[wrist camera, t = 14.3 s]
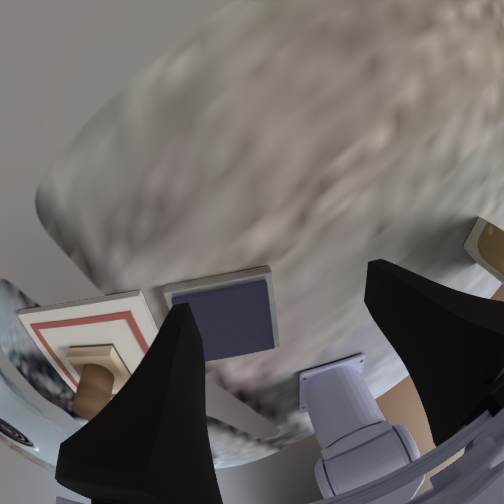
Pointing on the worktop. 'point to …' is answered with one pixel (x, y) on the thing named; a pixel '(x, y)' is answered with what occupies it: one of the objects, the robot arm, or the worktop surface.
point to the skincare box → (487, 247)
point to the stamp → (96, 376)
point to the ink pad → (231, 311)
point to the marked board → (92, 329)
